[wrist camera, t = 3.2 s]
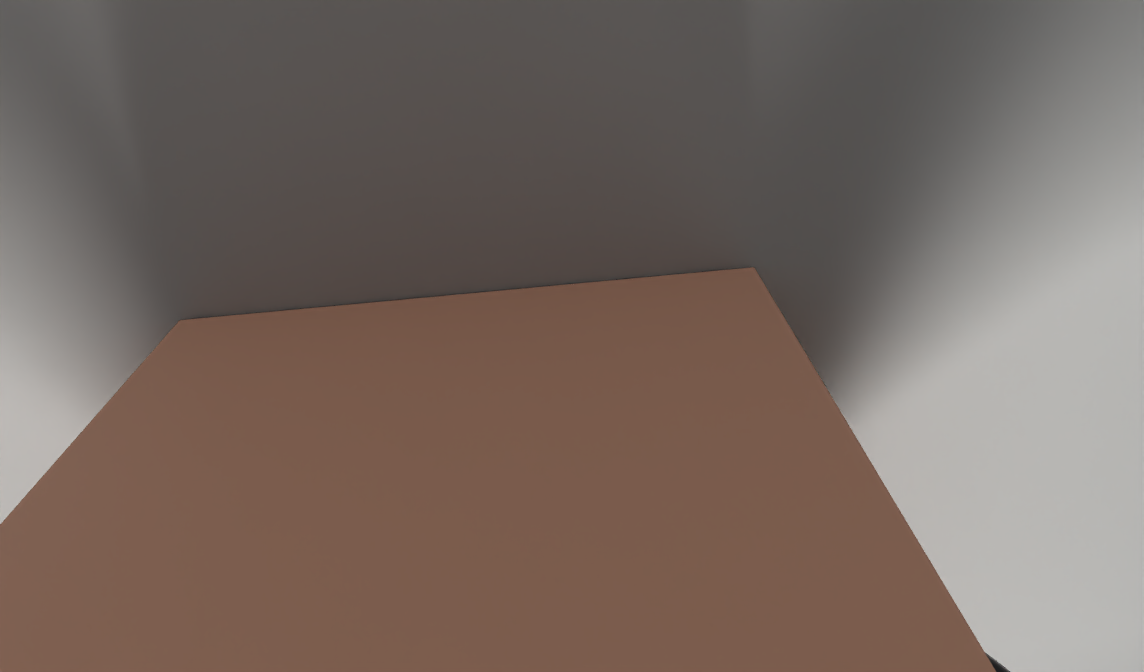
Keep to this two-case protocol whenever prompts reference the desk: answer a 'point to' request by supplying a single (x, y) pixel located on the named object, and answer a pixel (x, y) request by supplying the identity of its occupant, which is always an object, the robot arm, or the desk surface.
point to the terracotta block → (477, 499)
